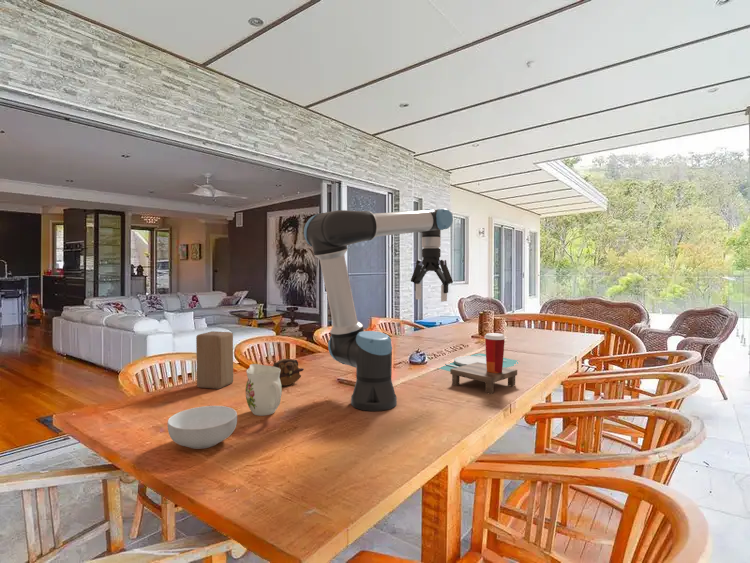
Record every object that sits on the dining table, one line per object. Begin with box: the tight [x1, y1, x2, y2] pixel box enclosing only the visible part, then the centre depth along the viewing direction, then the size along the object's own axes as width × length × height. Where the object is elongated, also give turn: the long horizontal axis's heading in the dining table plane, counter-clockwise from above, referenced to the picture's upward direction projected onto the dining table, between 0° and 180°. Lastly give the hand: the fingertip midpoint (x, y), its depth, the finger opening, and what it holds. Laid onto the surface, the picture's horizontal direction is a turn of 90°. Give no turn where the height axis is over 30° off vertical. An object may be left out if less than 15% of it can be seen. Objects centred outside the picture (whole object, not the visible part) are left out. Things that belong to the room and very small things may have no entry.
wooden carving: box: [272, 358, 305, 386], centre depth 167 cm, size 16×5×10 cm, turn 143°
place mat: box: [439, 353, 519, 372], centre depth 205 cm, size 45×30×2 cm
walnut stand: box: [449, 362, 518, 395], centre depth 168 cm, size 18×18×6 cm
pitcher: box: [245, 363, 283, 417], centre depth 136 cm, size 11×18×14 cm, turn 41°
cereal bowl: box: [166, 405, 238, 450], centre depth 113 cm, size 17×17×7 cm
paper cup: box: [483, 332, 506, 373], centre depth 165 cm, size 8×8×14 cm
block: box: [195, 330, 234, 390], centre depth 167 cm, size 10×10×20 cm
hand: (430, 300), depth 178 cm, fingers open, 13 cm apart
